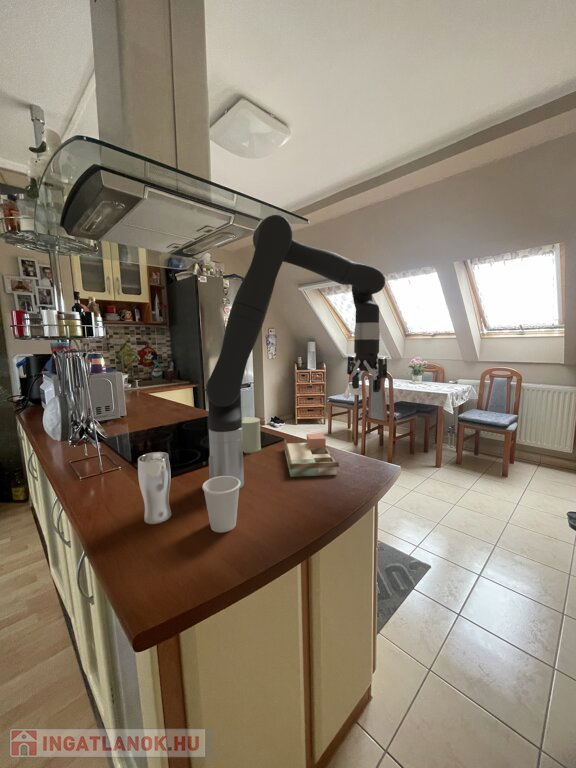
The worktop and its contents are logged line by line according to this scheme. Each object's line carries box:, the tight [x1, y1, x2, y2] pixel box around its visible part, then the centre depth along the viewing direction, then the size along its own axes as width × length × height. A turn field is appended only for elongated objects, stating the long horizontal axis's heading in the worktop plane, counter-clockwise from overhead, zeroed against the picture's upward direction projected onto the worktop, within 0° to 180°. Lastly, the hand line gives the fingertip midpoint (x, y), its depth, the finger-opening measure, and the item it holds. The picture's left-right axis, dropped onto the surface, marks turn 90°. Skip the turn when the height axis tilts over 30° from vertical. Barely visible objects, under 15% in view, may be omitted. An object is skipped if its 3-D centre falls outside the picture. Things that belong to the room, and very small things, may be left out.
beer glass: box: [137, 451, 172, 525], centre depth 75 cm, size 7×7×15 cm
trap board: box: [283, 439, 340, 478], centre depth 109 cm, size 15×24×4 cm, turn 5°
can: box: [242, 416, 262, 454], centre depth 121 cm, size 9×9×12 cm
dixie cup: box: [201, 476, 241, 534], centre depth 71 cm, size 8×8×10 cm
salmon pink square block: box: [306, 433, 327, 448], centre depth 117 cm, size 6×6×4 cm
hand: (365, 390), depth 100 cm, fingers open, 8 cm apart
